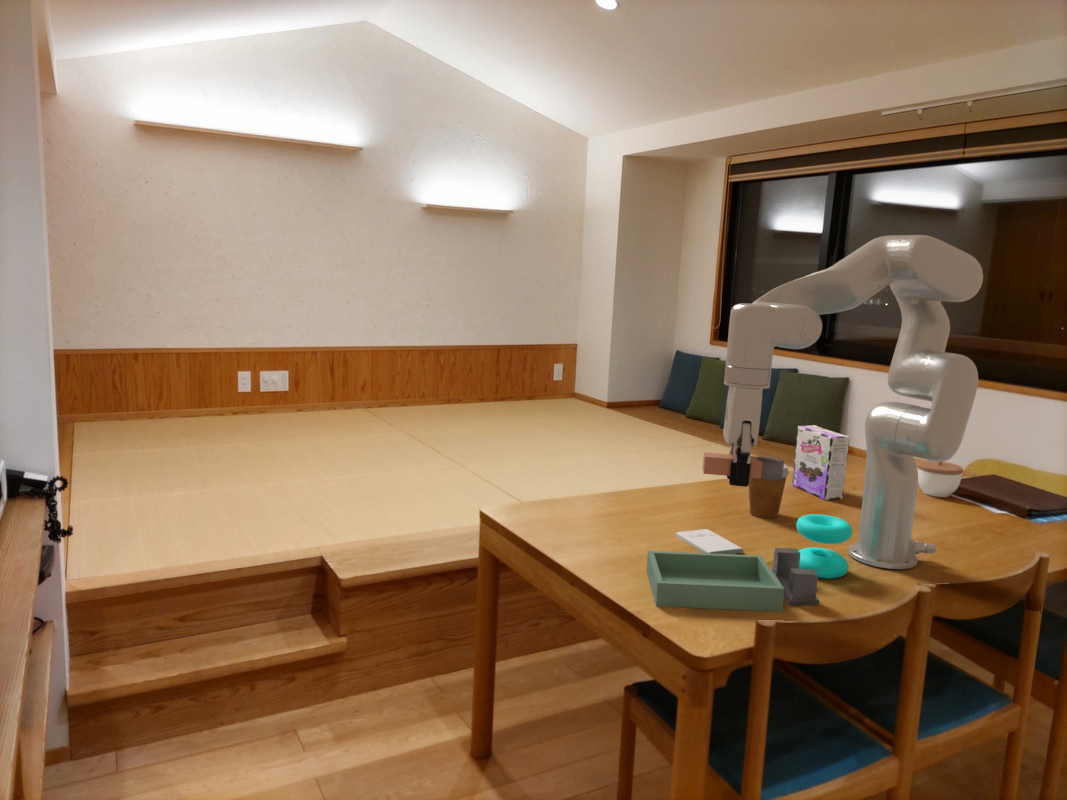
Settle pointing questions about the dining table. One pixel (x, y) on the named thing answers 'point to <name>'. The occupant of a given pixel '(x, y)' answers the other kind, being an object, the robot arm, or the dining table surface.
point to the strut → (759, 466)
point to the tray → (713, 581)
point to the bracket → (795, 578)
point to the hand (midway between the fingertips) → (737, 481)
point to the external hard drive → (709, 542)
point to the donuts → (828, 533)
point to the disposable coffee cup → (766, 495)
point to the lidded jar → (938, 477)
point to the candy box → (820, 462)
